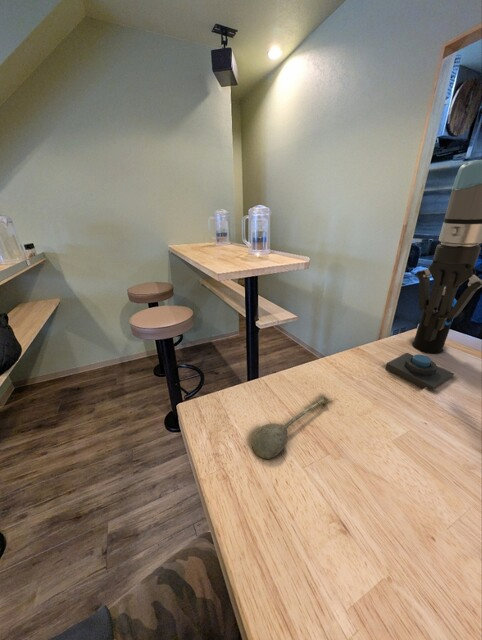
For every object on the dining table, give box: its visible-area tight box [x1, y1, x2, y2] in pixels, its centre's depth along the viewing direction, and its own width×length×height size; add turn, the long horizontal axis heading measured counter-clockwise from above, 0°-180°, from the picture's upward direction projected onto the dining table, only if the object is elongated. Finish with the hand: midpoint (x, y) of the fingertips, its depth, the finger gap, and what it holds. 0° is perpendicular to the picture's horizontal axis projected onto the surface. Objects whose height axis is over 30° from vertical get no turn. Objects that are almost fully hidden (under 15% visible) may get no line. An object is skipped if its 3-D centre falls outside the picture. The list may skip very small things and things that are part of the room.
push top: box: [412, 353, 432, 368], centre depth 67 cm, size 4×4×2 cm
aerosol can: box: [411, 286, 458, 355], centre depth 77 cm, size 8×8×20 cm
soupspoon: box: [251, 396, 330, 460], centre depth 54 cm, size 22×3×7 cm
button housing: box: [384, 352, 455, 392], centre depth 68 cm, size 12×10×4 cm
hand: (429, 338), depth 64 cm, fingers closed
